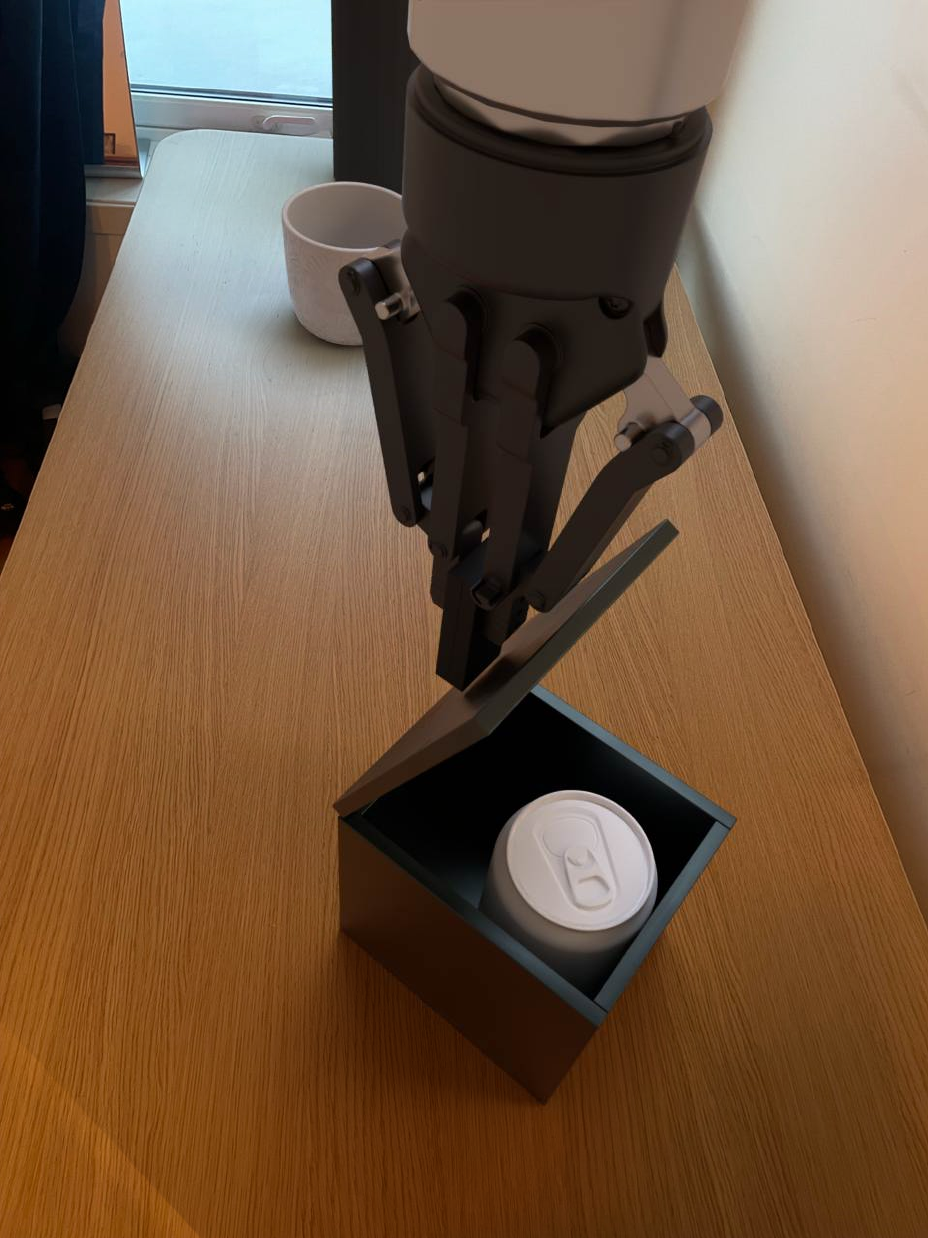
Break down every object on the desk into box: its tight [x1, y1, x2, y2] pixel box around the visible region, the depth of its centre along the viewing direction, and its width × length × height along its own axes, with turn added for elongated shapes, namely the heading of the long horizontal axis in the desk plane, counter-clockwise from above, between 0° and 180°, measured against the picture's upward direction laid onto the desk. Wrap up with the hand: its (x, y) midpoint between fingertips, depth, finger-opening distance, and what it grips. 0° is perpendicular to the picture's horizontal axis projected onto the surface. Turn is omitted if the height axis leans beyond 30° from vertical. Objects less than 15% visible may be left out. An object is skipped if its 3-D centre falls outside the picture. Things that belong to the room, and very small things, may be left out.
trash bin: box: [337, 683, 738, 1107], centre depth 50 cm, size 15×13×14 cm
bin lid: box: [331, 518, 680, 818], centre depth 40 cm, size 15×13×1 cm
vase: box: [330, 0, 421, 196], centre depth 100 cm, size 10×10×30 cm
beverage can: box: [478, 790, 658, 1001], centre depth 49 cm, size 8×8×12 cm
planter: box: [280, 181, 408, 346], centre depth 88 cm, size 12×12×11 cm
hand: (468, 663), depth 41 cm, fingers closed
